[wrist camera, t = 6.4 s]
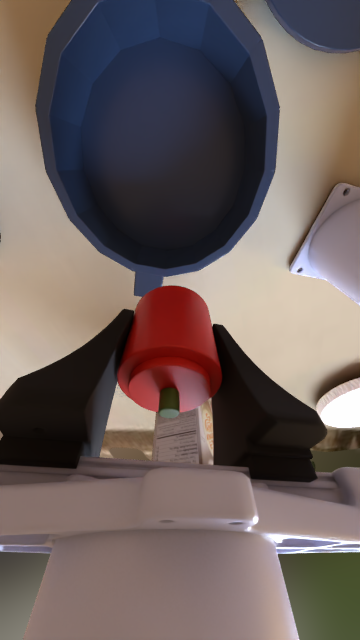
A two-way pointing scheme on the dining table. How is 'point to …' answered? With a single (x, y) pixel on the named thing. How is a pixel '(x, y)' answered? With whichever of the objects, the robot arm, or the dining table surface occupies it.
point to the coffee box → (185, 437)
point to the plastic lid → (341, 405)
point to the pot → (158, 129)
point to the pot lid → (321, 23)
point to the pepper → (170, 353)
